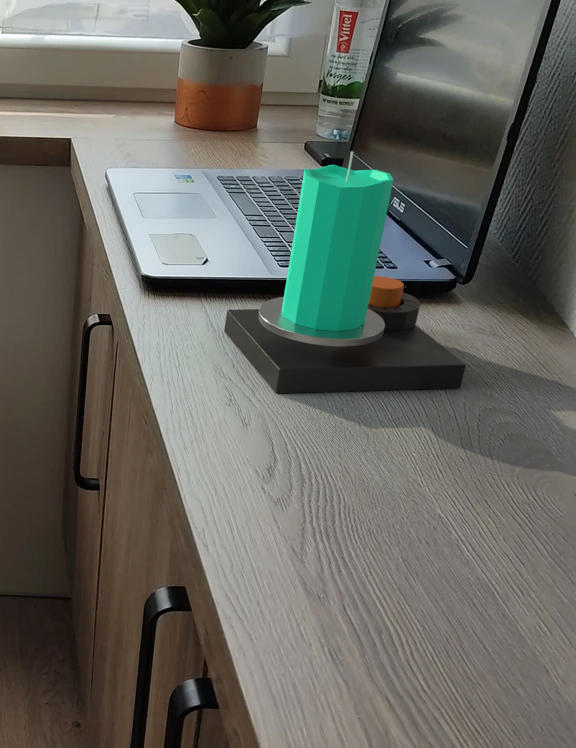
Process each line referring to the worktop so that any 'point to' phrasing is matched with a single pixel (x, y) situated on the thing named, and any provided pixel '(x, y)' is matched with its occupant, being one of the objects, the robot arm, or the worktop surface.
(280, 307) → the weighing pan
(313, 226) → the candle
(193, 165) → the worktop surface
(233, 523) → the worktop surface
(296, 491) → the worktop surface
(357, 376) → the scale
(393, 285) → the tare button
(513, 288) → the worktop surface
